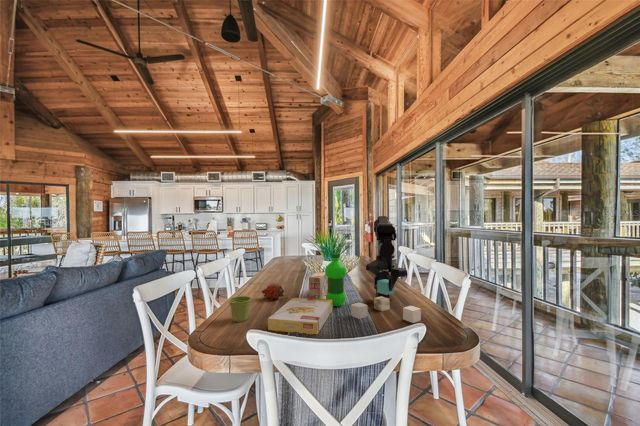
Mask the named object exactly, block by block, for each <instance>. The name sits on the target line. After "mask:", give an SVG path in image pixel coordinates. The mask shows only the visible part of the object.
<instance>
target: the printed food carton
mask: <svg viewBox="0 0 640 426" xmlns="http://www.w3.org/2000/svg"><path fill="white" fill-rule="evenodd" d="M308 292H309V293H308V298H311V299H322V298H323V297H324V296H325V295H326V294H327V292H328V277H327V276H326V274H325V272H322V271H321V272H318V271H317V272H315V273H313V274H311V275H310V276H309V277H308ZM325 297H326V296H325ZM325 297H324V298H325ZM324 298H323V299H324Z"/></svg>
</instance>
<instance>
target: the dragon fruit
mask: <svg viewBox="0 0 640 426" xmlns="http://www.w3.org/2000/svg"><path fill="white" fill-rule="evenodd" d="M284 292H285V290H284V288H283V287H282V286H281V285H279V284H278V283H275V284H273V283H270V284H269V285H267V287H266V288H263V289H262V290H261V294H263V297H264V298H265V299H269V300H271V301H273V300H279V298H281V297H283V296H284Z"/></svg>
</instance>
